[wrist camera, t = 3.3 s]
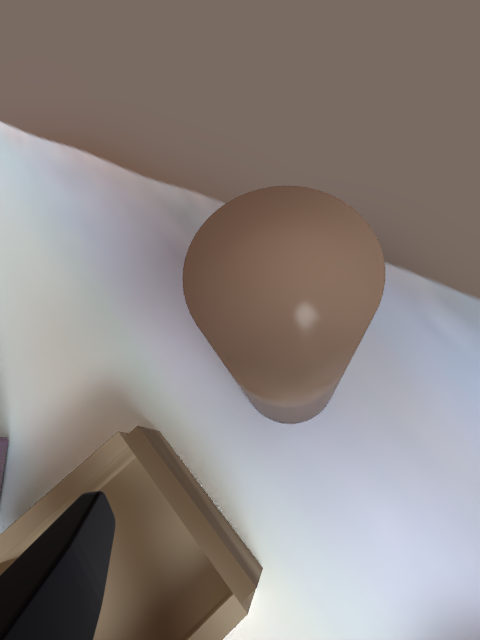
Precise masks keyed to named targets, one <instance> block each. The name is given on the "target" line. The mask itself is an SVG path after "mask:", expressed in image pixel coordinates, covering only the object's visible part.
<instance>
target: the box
mask: <svg viewBox="0 0 480 640" xmlns="http://www.w3.org/2000/svg"><path fill="white" fill-rule="evenodd" d="M7 448H8V439H7V438H6V437H0V491H1V485H2V479H3V473H4V466H5V460H6V454H7Z"/></svg>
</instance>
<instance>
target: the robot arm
mask: <svg viewBox="0 0 480 640" xmlns="http://www.w3.org/2000/svg"><path fill="white" fill-rule="evenodd" d="M115 525H116V522H115V516H114V513H113V511H112V509H111V506H110V504H109V502H108V499H107V497H106V495H105V493H104V492H102V491H92V492H85V493H83V494H82V495H80V496H79V497H78V498H77V499H76V500H75V501H74V502H73V503H72V504H71V505H70V506H69V507H68V508H67V509H66V510H65V511H64V512H63V513H62V514H61V515H60V516H59V517H58V518H57V519H56V520H55V521H54V522H53V523H52V524H51V525H50V526H49V527H48V528H47V529H46V530H45V531H44V532H43V533H42V534H41V535H40V536H39V537H38V538H37V539H36V540H35V541H34V542H33V543H32V544H31V545H30V546H29V547H28V548H27V549H26V550H25V551H24V552H23V553H22V554H21V555H20V556H19V557H18V558H17V559H16V560H15V561H14V562H13V563H12V564H11V565H10V566H9V567H8V568H7V569H6V570H5V571H4V572H3V573H2V574H1V575H0V640H93V638H94V634H95V631H96V627H97V623H98V619H99V615H100V611H101V607H102V603H103V597H104V592H105V586H106V580H107V575H108V569H109V563H110V557H111V551H112V545H113V539H114V533H115Z"/></svg>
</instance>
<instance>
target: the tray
mask: <svg viewBox="0 0 480 640" xmlns="http://www.w3.org/2000/svg"><path fill="white" fill-rule="evenodd" d="M92 491H102V492H104V493H105V495H106V497H107V499H108V502H109V504H110V506H111V509H112V511H113V513H114V516H115V522H116V525H115V533H114V539H113V545H112V551H111V557H110V563H109V569H108V575H107V580H106V586H105V592H104V597H103V603H102V607H101V611H100V615H99V619H98V623H97V627H96V631H95V634H94V638H93V640H222V639H223V638H224V637H225V636H226V635H227V634H228V633H229V632H230V631H231V630H232V629H233V628H234V627H235V626H236V625H237V624H238V623H239V622H240V621H241V620H242V619H243V618H244V617H245V616H246V615H247V614H248V611H249V608H250V605H251V602H252V599H253V596H254V593H255V589H256V588H257V585H258V582H259V579H260V576H261V572H262V569H263V568H262V567H261V565H260V564H259V563H258V561H257V560H256V559H255V557H254V556H253V555H252V553H251V552H250V551H249V549H248V548H247V547H246V545H245V544H244V543H243V542H242V540H241V539H240V538H239V536H238V535H237V534H236V532H235V531H234V530H233V528H232V527H231V526H230V524H229V523H228V522H227V520H226V519H225V518H224V516H223V515H222V514H221V512H220V511H219V510H218V508H217V507H216V506H215V504H214V503H213V502H212V500H211V499H210V498H209V496H208V495H207V494H206V492H205V491H204V490H203V489H202V487H201V486H200V485H199V483H198V482H197V481H196V479H195V478H194V477H193V475H192V474H191V473H190V471H189V470H188V469H187V467H186V466H185V465H184V463H183V462H182V461H181V459H180V458H179V457H178V455H177V454H176V453H175V451H174V450H173V449H172V447H171V446H170V445H169V443H168V442H167V441H166V439H165V438H164V437H163V436H162V434H161V433H160V432H159V431H155V430H151V429H147V428H144V427H140V426H137V427H136V428H135V429H134V430H133V431H131V432H130V433H129V434H128V433H123V432H117V433H116V434H115V435H114V436H113V437H111V438H110V439H109V440H108V441H107V442H106V443H105V444H103V445H102V446H101V447H100V448H99V449H98V450H97V451H95V452H94V453H93V454H92V455H91V456H90V457H89V458H87V459H86V460H85V461H84V462H83V463H82V464H81V465H79V466H78V467H77V468H76V469H75V470H74V471H73V472H71V473H70V474H69V475H68V476H67V477H66V478H65V479H63V480H62V481H61V482H60V483H59V484H58V485H57V486H55V487H54V488H53V489H52V490H51V491H50V492H49V493H47V494H46V495H45V496H44V497H43V498H42V499H41V500H39V501H38V502H37V503H36V504H35V505H34V506H32V507H31V508H30V509H29V510H28V511H27V512H26V513H24V514H23V515H22V516H21V517H20V518H19V519H18V520H16V521H15V522H14V523H13V524H12V525H11V526H10V527H8V528H7V529H6V530H5V531H4V532H3V533H2V534H0V575H1V574H2V573H3V572H4V571H5V570H6V569H7V568H8V567H9V566H10V565H11V564H12V563H13V562H14V561H15V560H16V559H17V558H18V557H19V556H20V555H21V554H22V553H23V552H24V551H25V550H26V549H27V548H28V547H29V546H30V545H31V544H32V543H33V542H34V541H35V540H36V539H37V538H38V537H39V536H40V535H41V534H42V533H43V532H44V531H45V530H46V529H47V528H48V527H49V526H50V525H51V524H52V523H53V522H54V521H55V520H56V519H57V518H58V517H59V516H60V515H61V514H62V513H63V512H64V511H65V510H66V509H67V508H68V507H69V506H70V505H71V504H72V503H73V502H74V501H75V500H76V499H77V498H78V497H79V496H80V495H82V494H83V493H85V492H92Z"/></svg>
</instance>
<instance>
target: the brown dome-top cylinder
mask: <svg viewBox="0 0 480 640" xmlns="http://www.w3.org/2000/svg"><path fill="white" fill-rule="evenodd" d="M384 284H385V264H384V257H383V253H382V250H381V247H380V244H379V242H378V239H377V237H376V235H375V233H374V232H373V230H372V229H371V227H370V226H369V224H368V223H367V222H366V221H365V220H364V219H363V217H362V216H361V215H360V214H359V213H358V212H357V211H355V210H354V209H353V208H352V207H351V206H349V205H348V204H346V203H345V202H343V201H342V200H340V199H338V198H336V197H334V196H332V195H330V194H327V193H324V192H322V191H319V190H315V189H311V188H306V187H299V186H277V187H268V188H263V189H259V190H255V191H252V192H249V193H246V194H244V195H241V196H239V197H237V198H235V199H233V200H232V201H230V202H228V203H226V204H225V205H224V206H222V207H221V208H219V209H218V210H217V211H216V212H215V213H213V214H212V215H211V216H210V217H209V218H208V219H207V220H206V221H205V223H204V224H203V225H202V226H201V227H200V229H199V230H198V232H197V233H196V235H195V236H194V238H193V240H192V242H191V244H190V246H189V249H188V252H187V255H186V258H185V263H184V268H183V290H184V295H185V299H186V304H187V306H188V309H189V311H190V314H191V316H192V317H193V319H194V321H195V323H196V324H197V326H198V327H199V329H200V330H201V332H202V333H203V334H204V336H205V337H206V339H207V340H208V342H209V343H210V344H211V346H212V347H213V349H214V350H215V352H216V353H217V354H218V356H219V357H220V359H221V360H222V362H223V363H224V365H225V366H226V367H227V369H228V370H229V372H230V373H231V375H232V376H233V377H234V379H235V380H236V382H237V383H238V385H239V386H240V387H241V389H242V390H243V392H244V393H245V395H246V396H247V397H248V399H249V400H250V402H251V403H252V405H253V406H254V407H255V408H256V409H257V410H258V411H259V412H260V413H261V414H262V415H264V416H265V417H267V418H269V419H271V420H273V421H276V422H279V423H285V424H295V423H301V422H304V421H307V420H309V419H312V418H313V417H315V416H316V415H318V414H319V413H320V412H321V411H322V410H323V409H324V408H325V407H326V405H327V404H328V403H329V401H330V399H331V397H332V395H333V393H334V391H335V389H336V387H337V385H338V384H339V382H340V380H341V378H342V376H343V374H344V372H345V370H346V368H347V366H348V364H349V363H350V361H351V359H352V357H353V355H354V353H355V351H356V349H357V347H358V345H359V343H360V341H361V340H362V338H363V336H364V334H365V332H366V330H367V328H368V326H369V324H370V322H371V320H372V318H373V317H374V315H375V313H376V311H377V309H378V307H379V304H380V301H381V298H382V295H383V290H384Z"/></svg>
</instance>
